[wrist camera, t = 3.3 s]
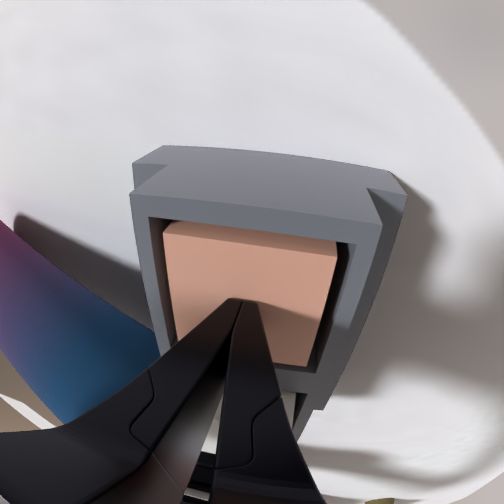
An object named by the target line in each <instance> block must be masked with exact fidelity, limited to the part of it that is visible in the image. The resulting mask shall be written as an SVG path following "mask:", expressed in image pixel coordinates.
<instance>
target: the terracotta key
mask: <svg viewBox="0 0 504 504" xmlns="http://www.w3.org/2000/svg"><path fill="white" fill-rule="evenodd" d="M163 240H164V249H165V257H166V265H167V273H168V280H169V287H170V294H171V301H172V307H173V313H174V319H175V325H176V331H177V337H178V341H179V340H181V339H182V338H183V337H184V336H185V335H186V334H188V333H189V332H190V331H191V330H192V329H193V328H194V327H196V326H197V325H198V324H199V323H200V322H201V321H203V320H204V319H205V318H206V317H207V316H208V315H209V314H211V313H212V312H213V311H214V310H215V309H216V308H217V307H219V306H220V305H221V304H222V303H223V302H224V301H225V300H227V299H228V298H234V299H240V300H242V301H245V300H247V301H253V302H257V303H258V306H259V309H260V313H261V317H262V321H263V325H264V329H265V333H266V337H267V341H268V345H269V349H270V353H271V356H272V360H273V362H276V363H282V364H289V365H297V366H305V367H306V366H307V363H308V360H309V357H310V353H311V350H312V347H313V344H314V340H315V337H316V334H317V331H318V327H319V324H320V320H321V317H322V313H323V310H324V306H325V303H326V299H327V295H328V292H329V288H330V284H331V280H332V277H333V273H334V269H335V265H336V261H337V249H336V241H331V240H324V239H317V238H310V237H303V236H296V235H289V234H282V233H275V232H267V231H260V230H252V229H245V228H237V227H230V226H222V225H214V224H206V223H198V222H190V221H182V220H173V221H172V222H171V223H170V225H169V226H168V227H167V228H166V229H165V231H164V232H163Z"/></svg>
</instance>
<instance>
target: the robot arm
mask: <svg viewBox="0 0 504 504" xmlns="http://www.w3.org/2000/svg"><path fill="white" fill-rule="evenodd" d="M223 392H224V393H223ZM222 395H223V400H222V408H221V415H220V423H219V431H218V438H217V446H216V454H213V453H208V452H204V451H201V450H202V447H203V445H204V442H205V439H206V437H207V434H208V432H209V429H210V427H211V424H212V421H213V419H214V416H215V414H216V411H217V408H218V406H219V403H220V400H221V398H222ZM281 396H282V395H281V391H280V387H279V384H278V380H277V376H276V372H275V368H274V364H273V360H272V356H271V353H270V349H269V345H268V341H267V337H266V333H265V329H264V325H263V321H262V317H261V313H260V309H259V306H258V303H257V302H253V301H247V300H245V301H242V300H240V299H234V298H228V299H227V300H225V301H224V302H223V303H222V304H221V305H220V306H219V307H217V308H216V309H215V310H214V311H213V312H212V313H211V314H209V315H208V316H207V317H206V318H205V319H204V320H203V321H201V322H200V323H199V324H198V325H197V326H196V327H194V328H193V329H192V330H191V331H190V332H189V333H188V334H186V335H185V336H184V337H183V338H182V339H181V340H179V341H178V342H177V343H176V344H175V345H174V346H172V347H171V348H170V349H169V350H168V351H167V352H165V353H164V354H163V355H162V356H161V357H160V358H158V359H157V360H156V361H155V362H154V363H153V364H151V365H150V366H149V369H145V370H144V371H143V372H142V373H141V374H139V375H138V376H137V377H136V378H135V379H133V380H132V381H131V382H130V383H128V384H127V385H126V386H124V387H123V388H122V389H120V390H119V391H117V392H116V393H115V394H113V395H112V396H110V397H109V398H107V399H106V400H104V401H103V402H101V403H99V404H98V405H96V406H95V407H93V408H92V409H90V410H88V411H87V412H85V413H84V414H82V415H80V416H79V417H77V418H76V419H74V420H72V421H70V422H69V423H66V424H64V425H62V426H59V427H55V428H51V429H43V430H32V431H20V432H3V433H0V504H327V503H326V502H325V500H324V498H323V497H322V495H321V493H320V492H319V490H318V488H317V486H316V484H315V482H314V480H313V477H312V475H311V473H310V471H309V469H308V467H307V464H306V462H305V460H304V458H303V455H302V453H301V451H300V449H299V446H298V444H297V442H296V439H295V437H294V434H293V431H292V429H291V426H290V423H289V420H288V416H287V413H286V410H285V406H284V402H283V398H282V397H281ZM184 493H186V494H190V495H193V496H197V497H201V498H205V499H209V500H208V501H205V500H201V499H198V498H194V497H190V496H187V495H184Z"/></svg>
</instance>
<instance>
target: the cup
mask: <svg viewBox="0 0 504 504" xmlns="http://www.w3.org/2000/svg"><path fill="white" fill-rule="evenodd" d="M0 349H1V350H2V352H3V353H4V355H5V356H6V357H7V359H8V360H9V361H10V362H11V364H12V365H13V367H14V368H15V369H16V371H17V372H18V373H19V375H20V376H21V377H22V378H23V379H24V381H25V382H26V383H27V384H28V385H29V387H30V388H31V389H32V390H33V391H34V393H35V394H36V395H37V396H38V397H39V398H40V399H41V401H42V402H43V403H44V404H45V405H46V406H47V407H48V408H49V409H50V410H51V412H52V413H53V414H54V415H56V417H57V418H58V419H59V420H60V421H61V422H62V423H63V424H66V423H69V422H70V421H72V420H74V419H76V418H77V417H79V416H80V415H82V414H84V413H85V412H87V411H88V410H90V409H92V408H93V407H95V406H96V405H98V404H99V403H101V402H103V401H104V400H106V399H107V398H109V397H110V396H112V395H113V394H115V393H116V392H117V391H119V390H120V389H122V388H123V387H124V386H126V385H127V384H128V383H130V382H131V381H132V380H133V379H135V378H136V377H137V376H138V375H139V374H141V373H142V372H143V371H144V370H145V369H149V366H150V365H151V364H153V363H154V362H155V361H156V360H157V359H158V358H160V357H161V355H160V351H159V348H158V344H157V340H156V336H155V332H153V331H152V330H150V329H148V328H147V327H145V326H143V325H142V324H140V323H138V322H137V321H135V320H134V319H132V318H130V317H129V316H127V315H126V314H124V313H122V312H121V311H119V310H118V309H116V308H115V307H113V306H112V305H110V304H109V303H107V302H106V301H104V300H103V299H101V298H100V297H98V296H97V295H95V294H94V293H92V292H91V291H90V290H88V289H87V288H85V287H84V286H82V285H81V284H80V283H78V282H77V281H75V280H74V279H73V278H71V277H70V276H69V275H67V274H66V273H65V272H63V271H62V270H60V269H59V268H58V267H57V266H55V265H54V264H53V263H51V262H50V261H49V260H47V259H46V258H45V257H44V256H42V255H41V254H40V253H39V252H37V251H36V250H35V249H34V248H32V247H31V246H30V245H29V244H28V243H26V242H25V241H24V240H23V239H22V238H20V237H19V236H18V235H17V234H16V233H15V232H13V231H12V230H11V229H10V228H9V227H8V226H6V225H5V224H4V223H3V222H2V221H1V220H0Z"/></svg>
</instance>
